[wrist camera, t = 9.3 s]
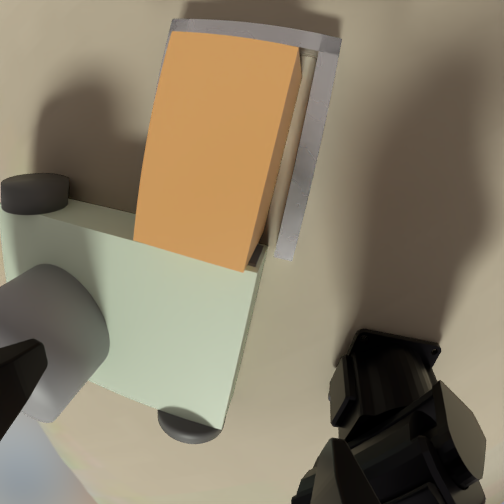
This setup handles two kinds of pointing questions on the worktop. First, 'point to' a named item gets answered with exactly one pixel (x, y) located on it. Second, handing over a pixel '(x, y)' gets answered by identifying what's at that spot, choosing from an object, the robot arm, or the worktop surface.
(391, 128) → the worktop surface
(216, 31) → the bracket
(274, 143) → the tan wooden brick
